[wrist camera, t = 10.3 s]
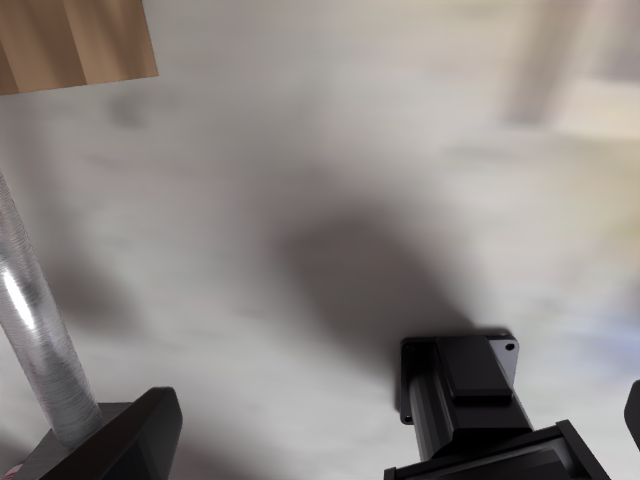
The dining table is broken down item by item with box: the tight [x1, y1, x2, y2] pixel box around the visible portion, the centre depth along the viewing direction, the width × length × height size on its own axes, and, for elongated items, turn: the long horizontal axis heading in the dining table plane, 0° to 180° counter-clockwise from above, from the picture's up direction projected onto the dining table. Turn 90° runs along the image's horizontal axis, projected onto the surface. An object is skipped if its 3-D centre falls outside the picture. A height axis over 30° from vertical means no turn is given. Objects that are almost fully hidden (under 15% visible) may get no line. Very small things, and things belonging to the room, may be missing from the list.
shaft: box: [0, 170, 133, 480], centre depth 15 cm, size 20×4×4 cm, turn 4°
